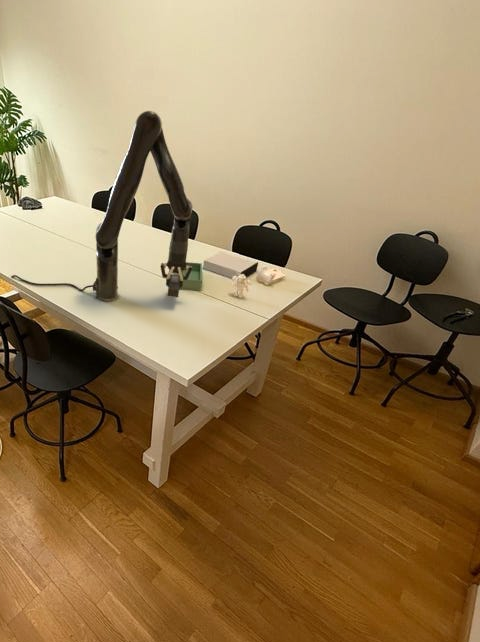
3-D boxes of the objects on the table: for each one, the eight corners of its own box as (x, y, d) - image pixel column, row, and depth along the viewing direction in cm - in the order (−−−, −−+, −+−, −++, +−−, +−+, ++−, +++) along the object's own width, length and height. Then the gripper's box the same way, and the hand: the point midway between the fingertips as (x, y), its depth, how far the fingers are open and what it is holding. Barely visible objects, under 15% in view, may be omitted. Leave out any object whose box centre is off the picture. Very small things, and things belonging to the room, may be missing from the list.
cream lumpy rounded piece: (265, 286, 183) (272, 274, 178) (255, 278, 187) (262, 266, 181) (282, 281, 189) (289, 269, 184) (272, 272, 193) (279, 261, 187)
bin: (173, 288, 178) (174, 278, 175) (175, 270, 195) (176, 261, 192) (200, 290, 176) (202, 280, 173) (200, 272, 193) (201, 263, 190)
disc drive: (240, 281, 185) (242, 272, 182) (202, 268, 197) (203, 259, 195) (256, 271, 196) (258, 262, 193) (219, 259, 208) (221, 251, 205)
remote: (167, 296, 158) (168, 288, 156) (169, 280, 171) (170, 273, 169) (178, 297, 157) (179, 290, 155) (179, 281, 170) (180, 274, 168)
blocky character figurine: (227, 294, 173) (232, 271, 166) (231, 291, 176) (235, 268, 169) (245, 300, 169) (251, 276, 162) (249, 297, 171) (254, 273, 164)
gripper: (195, 248, 156) (190, 284, 166) (161, 245, 157) (158, 281, 167) (195, 254, 150) (189, 292, 160) (160, 251, 151) (157, 288, 161)
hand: (173, 286), depth 163 cm, fingers closed on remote, 4 cm apart
